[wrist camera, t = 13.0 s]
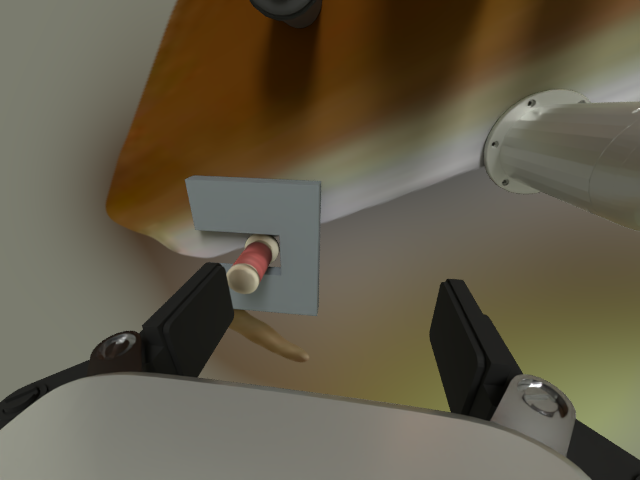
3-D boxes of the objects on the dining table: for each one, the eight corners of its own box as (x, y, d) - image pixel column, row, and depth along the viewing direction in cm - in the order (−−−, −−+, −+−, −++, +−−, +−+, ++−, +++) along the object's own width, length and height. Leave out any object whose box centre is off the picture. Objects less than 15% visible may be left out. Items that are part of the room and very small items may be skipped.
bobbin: (278, 233, 44) (260, 264, 35) (280, 262, 47) (263, 299, 38) (245, 231, 45) (218, 261, 36) (248, 260, 47) (224, 295, 38)
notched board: (321, 181, 40) (319, 185, 37) (318, 306, 50) (317, 316, 48) (193, 175, 41) (184, 179, 39) (217, 298, 52) (211, 306, 50)
